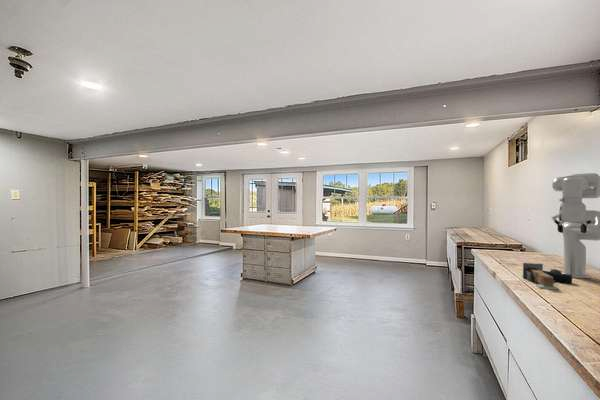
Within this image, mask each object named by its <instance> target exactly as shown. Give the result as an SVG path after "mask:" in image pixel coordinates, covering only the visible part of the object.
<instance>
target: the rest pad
mask: <svg viewBox="0 0 600 400" xmlns="http://www.w3.org/2000/svg"><path fill="white" fill-rule="evenodd" d="M536 287H538V289H545V290H555V291H556V290H557V291H560V287H558V286H556V285H554V284H553V287H548V286H543V285H541V284H540V283H537V284H536Z"/></svg>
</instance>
